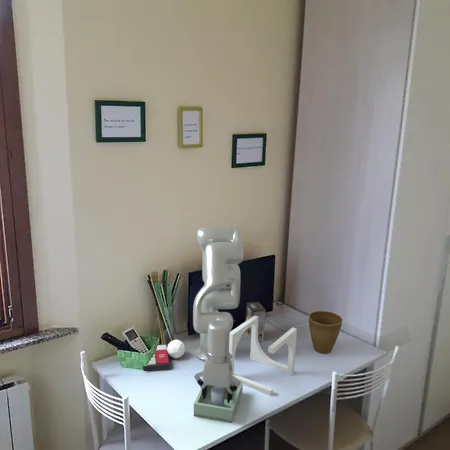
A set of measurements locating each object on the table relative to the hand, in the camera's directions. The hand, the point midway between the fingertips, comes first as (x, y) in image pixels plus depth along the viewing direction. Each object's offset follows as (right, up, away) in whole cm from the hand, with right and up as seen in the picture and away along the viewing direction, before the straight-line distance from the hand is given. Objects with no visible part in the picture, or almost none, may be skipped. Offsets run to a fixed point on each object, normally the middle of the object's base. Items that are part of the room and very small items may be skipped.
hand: (216, 398), depth 169 cm
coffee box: (+17, +9, +55) cm, 58 cm away
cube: (+2, -2, +8) cm, 9 cm away
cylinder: (0, -3, +1) cm, 4 cm away
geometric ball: (-18, +5, +36) cm, 40 cm away
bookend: (+18, +1, +24) cm, 29 cm away
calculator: (-27, +4, +32) cm, 42 cm away
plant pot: (+47, +5, +45) cm, 65 cm away
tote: (+1, -4, +5) cm, 6 cm away
